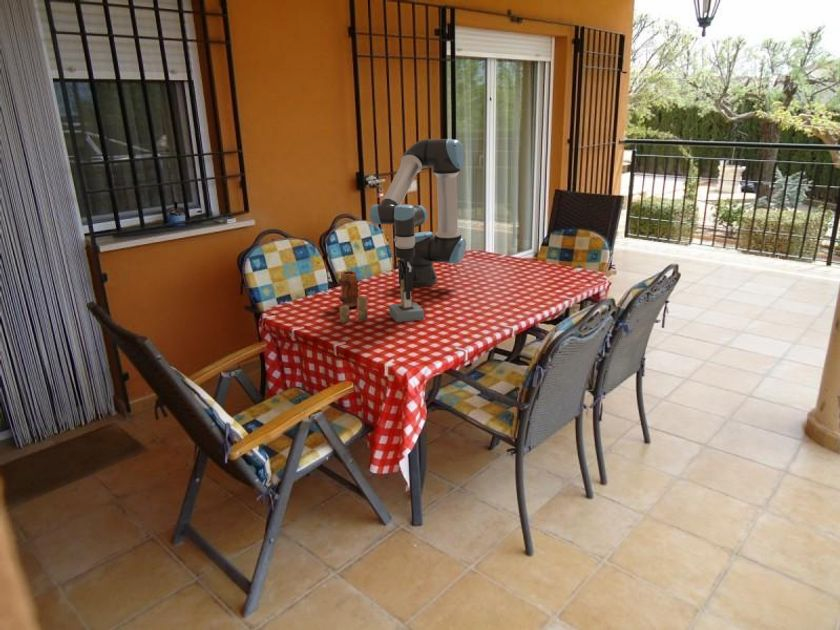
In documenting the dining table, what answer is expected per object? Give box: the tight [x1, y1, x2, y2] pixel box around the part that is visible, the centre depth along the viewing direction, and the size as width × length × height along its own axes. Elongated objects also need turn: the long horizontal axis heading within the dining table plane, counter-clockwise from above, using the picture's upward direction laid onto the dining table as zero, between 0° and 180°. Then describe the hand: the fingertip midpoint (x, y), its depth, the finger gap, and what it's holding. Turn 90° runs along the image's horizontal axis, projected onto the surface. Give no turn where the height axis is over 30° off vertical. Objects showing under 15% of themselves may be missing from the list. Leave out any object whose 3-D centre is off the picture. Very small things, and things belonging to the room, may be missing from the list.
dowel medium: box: [357, 295, 368, 322], centre depth 241 cm, size 4×4×9 cm
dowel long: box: [400, 279, 411, 310], centre depth 243 cm, size 4×4×14 cm
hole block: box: [388, 301, 425, 323], centre depth 245 cm, size 11×11×4 cm
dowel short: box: [339, 304, 351, 324], centre depth 240 cm, size 4×4×6 cm
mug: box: [338, 270, 360, 308], centre depth 254 cm, size 15×8×15 cm, turn 21°
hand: (406, 305), depth 244 cm, fingers closed on dowel long, 3 cm apart
